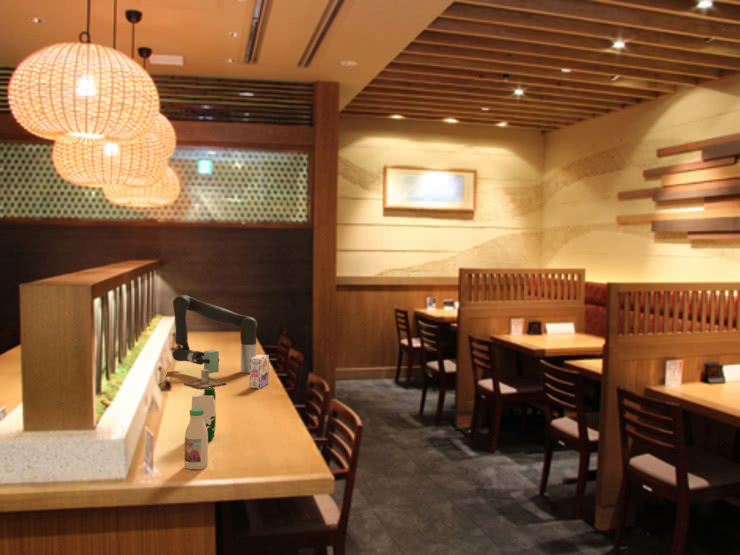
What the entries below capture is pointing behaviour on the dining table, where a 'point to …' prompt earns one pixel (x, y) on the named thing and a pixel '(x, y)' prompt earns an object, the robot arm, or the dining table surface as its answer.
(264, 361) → the candy box
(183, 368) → the dining table surface
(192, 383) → the walnut base
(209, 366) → the teal cap
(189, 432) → the milk bottle
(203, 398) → the white green-capped container
